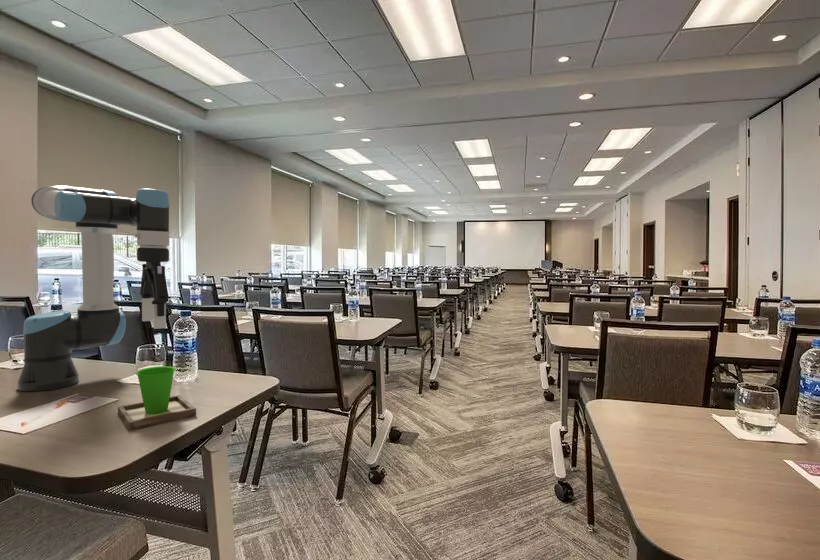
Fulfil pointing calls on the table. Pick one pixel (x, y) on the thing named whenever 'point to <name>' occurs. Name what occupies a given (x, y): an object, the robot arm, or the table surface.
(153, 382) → the cup
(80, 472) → the table surface
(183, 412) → the tray
